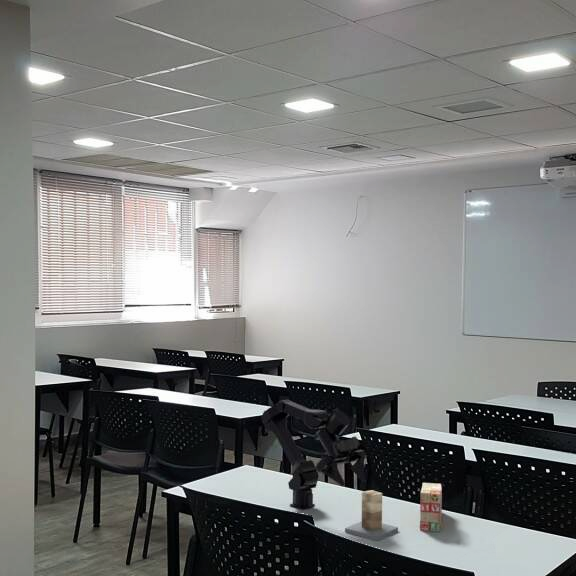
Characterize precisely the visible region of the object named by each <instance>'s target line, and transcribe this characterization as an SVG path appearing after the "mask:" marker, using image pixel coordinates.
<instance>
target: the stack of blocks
mask: <svg viewBox="0 0 576 576" xmlns="http://www.w3.org/2000/svg"><path fill="white" fill-rule="evenodd" d="M442 492H443V491H442V483H433V482H422V485H421V490H420V504H419V505H420V506H419V507H420V508H419V509H420V511H419V512H420V514H419V517H420V519H419V531H425V532H436V533H437V532H438V533H440V531H441V523H442V513H443V512H442V511H443V508H442V507H443V506H442V503H443V500H442V499H443V496H442V495H443V493H442Z"/></svg>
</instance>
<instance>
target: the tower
mask: <svg viewBox="0 0 576 576" xmlns="http://www.w3.org/2000/svg"><path fill="white" fill-rule="evenodd" d="M361 521H362V528H365V529H368V530H370V531H374V530H377V529H381V528H382V523H383V493H382V492H379V491H376V490H373V489H371V490H365V491H362V492H361Z"/></svg>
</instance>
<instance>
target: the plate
mask: <svg viewBox="0 0 576 576" xmlns="http://www.w3.org/2000/svg"><path fill="white" fill-rule="evenodd" d="M344 532H345V533H347V534H351V535H355V536H359V537H361V538H366V539H370V540H372V541H381V540H382V539H385V538H386V537H389V536H391V535H393V534H395V533H397V532H399V527H398V526H395V525H390V524H386V523H383V522H382V528H381V529H377V530H374V531H370V530H368V529H365V528H362V520H361V521H358V522H356V523H354V524H352V525H349V526H346V527H345V528H344Z"/></svg>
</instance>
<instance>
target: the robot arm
mask: <svg viewBox="0 0 576 576" xmlns="http://www.w3.org/2000/svg"><path fill="white" fill-rule="evenodd" d="M289 416H291V417H294V418H296V419H299V420H301V421H303V423H304V425H305V426H307V427H308V428H309V429H311V430H317V429H319V430H318V431H315V434H314V441H317V440H319V441H320V442H321V445H322V446H323V448H324V449H323V454H324V455H326V456H322V457H321V458H320V460H319V461H318V462H317V463H316V464H315V463H314V461H313V460H311V459H310V460H307V459H305V458H304V456H303V454H302V452H301V451H300V448H299V446H298V445H297V443H296V441H295V440H294V438H293V436H292V435H291V432H290V430H289V429H288V428H287V427H288V426H287V425H288V424H287V423H288V419H287V418H288V417H289ZM261 422H262V423H263V425H264V427H265V428H266V429H267V430H268V431H269V432H271V433H272V434H274V435H275V437H276V439H277V440H278V443H279V445H280V446H281V448H282V449H283V450H282V451H283V452H284V454H285V455H286V457H287V459H288V461H289V463H290V465H291V466H292V469H291V476H292V478H291V479H290V480H289V481H288V483H287V484H288V485H287V486H288V488H289V489H288V490H292V503H290V504H289V506H290V507H292V508H297V509H301V510H306V509H308V508H313V507H314V506H316V504H315V503H314V494H313V489H315V488H317V485H318V481H319V477H320V476H319V474H322V475H325V476H326V477H328V478H330V479H332V480H333V481H335V483H337V484H338V485H339V486H341V487H345V485H346V483H345V480H344V479H343V477H342V475H341V473H340V471H339V469H338V465H342V464H347V463H348V465H349V466H350V469H351V471H352V472H353V473H354V474H355V475H356V476H357V477H358V479H359V480H360V481H361V482H362V483H364V482H365V481H366V476H365V470H364V462H365V461H366V458H367V457H368V454H367V453H366V451H365V450H363V449H358V447H359V446H360V441H359V439H358V437H357V436H351V437H350V438H349V439H345V440H343V439H339V436H340V435H341V434H342V433H343V432H344V431H345V430H346V428H347V427H348V426H349V425H350V423H351V419H350V416H349V415H347V414H346V413H344V412H343V411H341V410H340V408H336V409H333V411H332V412H331V414H329V412H328V411H327V410H323V409H322V410H321V409H310V408H308V407H306V406H304V405H301V404H298V403H296V402H294V401H292V400H289V399H285V400H284V399H282V400H279V401H278V402H276V403H275V404H274V405H272V406H270V407H268V408H267V409H266V410H264V411H263V413H262V414H261ZM356 449H358V450H356ZM352 450H354V451H353V452H352ZM349 454H351V455H349Z"/></svg>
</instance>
